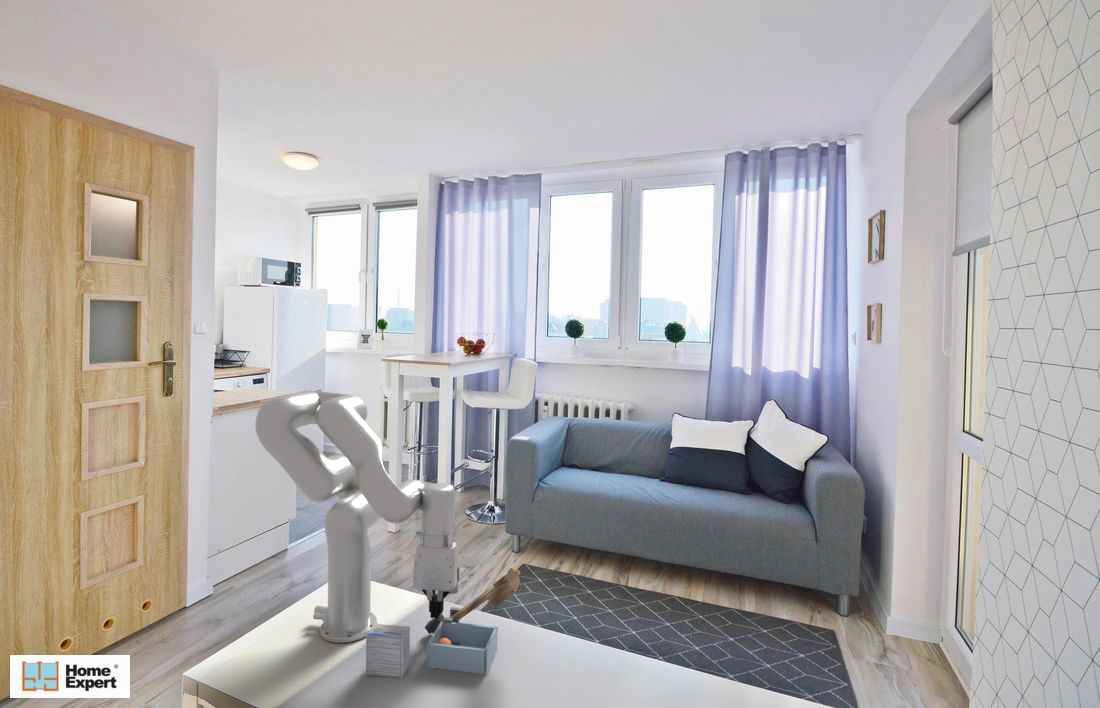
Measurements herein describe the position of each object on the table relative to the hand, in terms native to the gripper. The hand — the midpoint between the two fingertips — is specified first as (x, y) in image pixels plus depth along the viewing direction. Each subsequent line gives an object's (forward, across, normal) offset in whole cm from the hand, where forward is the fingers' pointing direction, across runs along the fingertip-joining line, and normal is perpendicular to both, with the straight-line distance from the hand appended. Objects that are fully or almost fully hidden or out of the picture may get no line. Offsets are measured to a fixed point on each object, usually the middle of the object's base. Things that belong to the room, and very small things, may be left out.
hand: (436, 615), depth 123 cm
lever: (-4, +10, -5) cm, 12 cm away
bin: (+5, +9, -7) cm, 12 cm away
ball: (+1, +5, -7) cm, 8 cm away
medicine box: (+5, -5, -14) cm, 16 cm away
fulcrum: (+5, +4, 0) cm, 6 cm away
